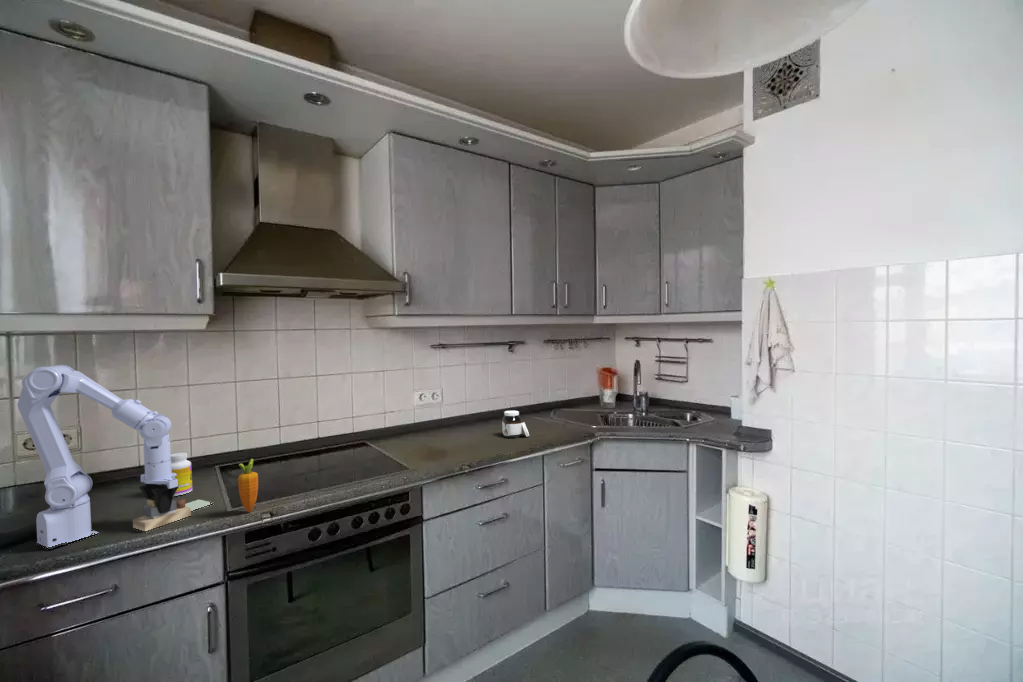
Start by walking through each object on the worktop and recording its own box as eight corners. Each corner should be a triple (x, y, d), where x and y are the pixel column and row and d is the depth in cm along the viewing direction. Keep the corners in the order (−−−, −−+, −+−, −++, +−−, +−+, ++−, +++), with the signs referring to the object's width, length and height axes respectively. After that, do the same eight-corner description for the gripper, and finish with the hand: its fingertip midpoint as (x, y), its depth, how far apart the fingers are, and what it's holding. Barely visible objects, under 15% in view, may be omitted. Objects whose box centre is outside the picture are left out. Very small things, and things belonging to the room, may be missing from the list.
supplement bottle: (195, 493, 147) (193, 453, 147) (170, 499, 142) (168, 458, 142) (189, 488, 152) (187, 450, 151) (164, 494, 147) (163, 454, 146)
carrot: (240, 517, 126) (238, 463, 125) (238, 512, 130) (236, 459, 129) (260, 513, 129) (258, 460, 128) (258, 507, 133) (256, 456, 132)
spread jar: (500, 435, 216) (499, 411, 215) (521, 432, 220) (521, 408, 220) (511, 440, 205) (510, 414, 204) (533, 437, 209) (532, 412, 209)
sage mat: (186, 513, 130) (186, 512, 130) (171, 509, 133) (171, 508, 133) (213, 504, 137) (213, 502, 137) (199, 500, 140) (199, 499, 140)
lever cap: (151, 517, 120) (150, 501, 120) (143, 515, 122) (142, 499, 122) (176, 509, 125) (176, 494, 125) (168, 507, 127) (167, 492, 127)
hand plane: (145, 532, 118) (144, 515, 118) (133, 528, 120) (132, 511, 120) (191, 516, 128) (190, 500, 128) (179, 513, 130) (178, 497, 130)
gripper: (189, 459, 123) (191, 509, 124) (160, 454, 130) (162, 501, 130) (159, 467, 117) (162, 519, 117) (130, 461, 124) (133, 510, 124)
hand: (160, 510), depth 123 cm, fingers closed on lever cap, 4 cm apart
